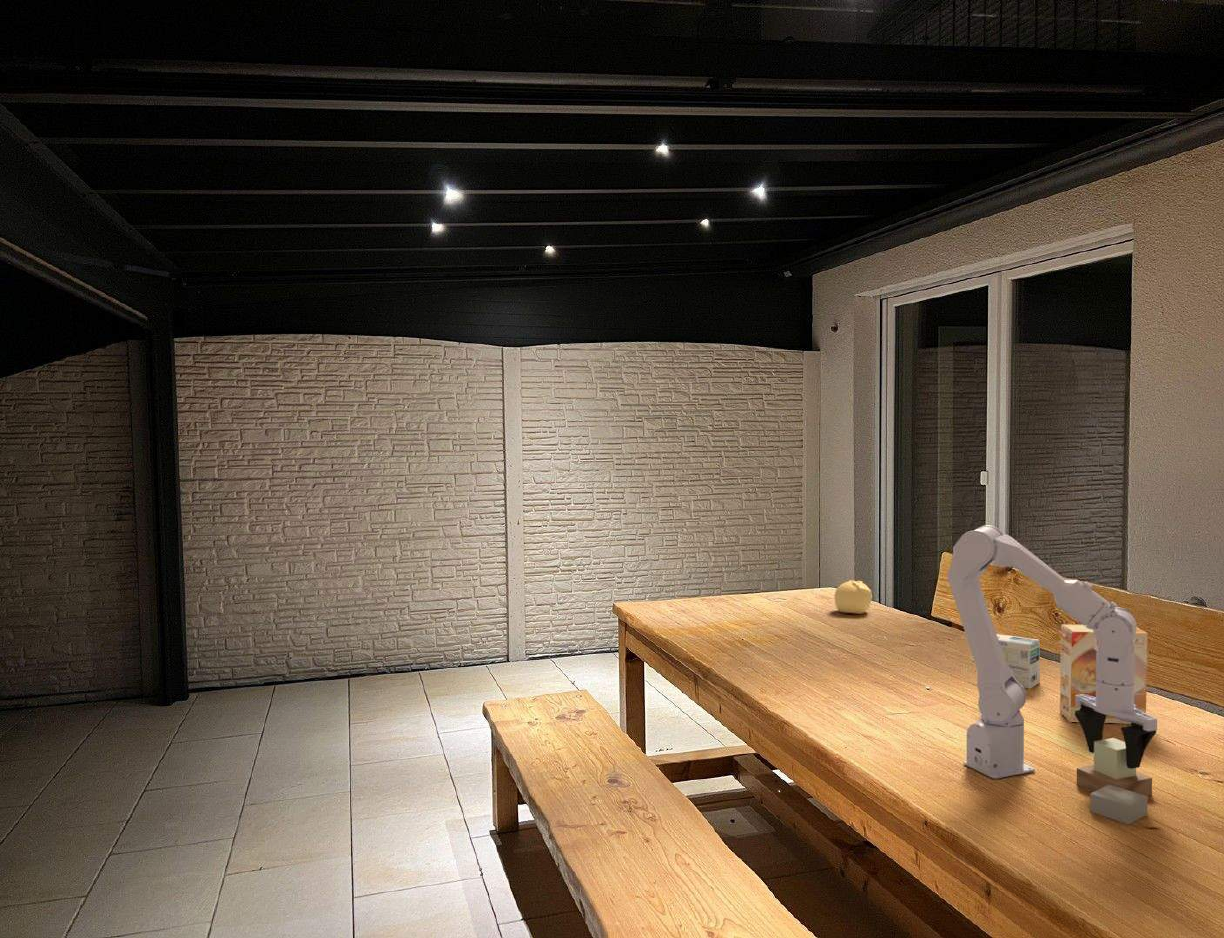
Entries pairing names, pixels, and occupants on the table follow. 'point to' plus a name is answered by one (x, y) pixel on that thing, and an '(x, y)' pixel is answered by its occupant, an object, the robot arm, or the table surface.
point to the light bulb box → (1022, 658)
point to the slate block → (1118, 804)
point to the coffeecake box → (1093, 669)
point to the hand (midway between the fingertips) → (1113, 759)
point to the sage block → (1112, 758)
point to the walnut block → (1113, 781)
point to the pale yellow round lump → (853, 597)
